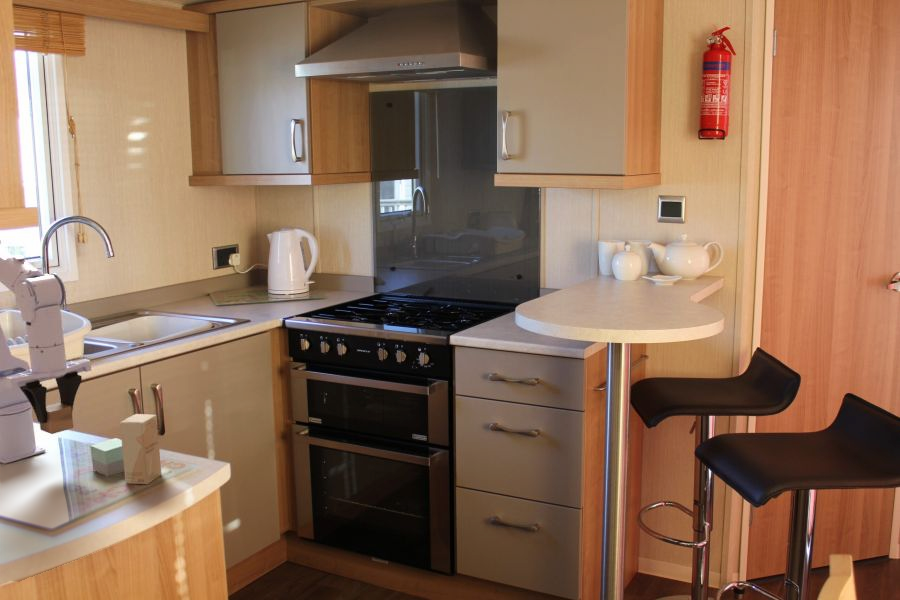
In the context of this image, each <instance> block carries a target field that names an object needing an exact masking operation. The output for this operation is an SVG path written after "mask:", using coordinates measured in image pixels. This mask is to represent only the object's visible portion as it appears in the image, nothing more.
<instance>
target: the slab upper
mask: <svg viewBox="0 0 900 600" xmlns="http://www.w3.org/2000/svg"><path fill="white" fill-rule="evenodd" d="M89 447H90V454H91V455H90V456H91V460H92V459H93V460H96V461H98V462H101V463H103V464H106V465H107V464H110V463H114V462H117V461H120V460H123V450H122V439H120V438H117V437H114V438H111V439H108V440H104V441H101V442H98V443H95V444H92V445H90V446H89Z"/></svg>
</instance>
